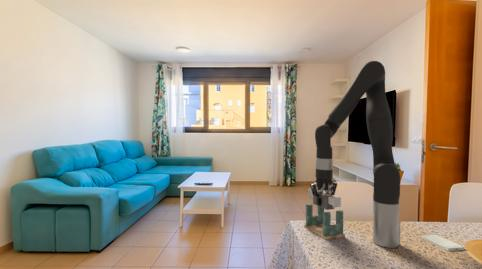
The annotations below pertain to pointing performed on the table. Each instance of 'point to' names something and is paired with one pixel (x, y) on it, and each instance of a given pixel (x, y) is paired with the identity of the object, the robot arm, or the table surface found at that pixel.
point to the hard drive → (442, 242)
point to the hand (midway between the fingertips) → (323, 204)
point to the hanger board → (324, 223)
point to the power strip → (326, 200)
